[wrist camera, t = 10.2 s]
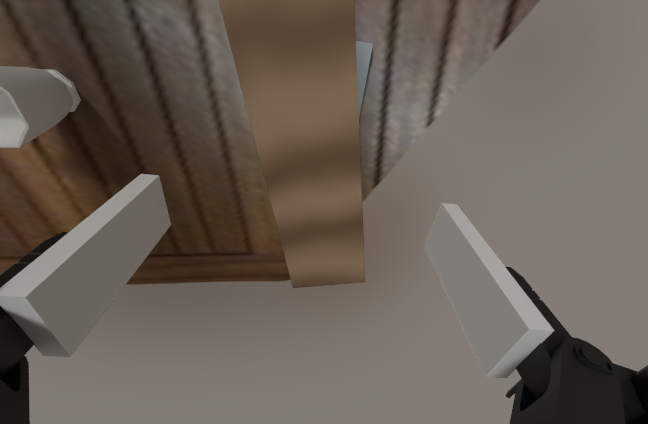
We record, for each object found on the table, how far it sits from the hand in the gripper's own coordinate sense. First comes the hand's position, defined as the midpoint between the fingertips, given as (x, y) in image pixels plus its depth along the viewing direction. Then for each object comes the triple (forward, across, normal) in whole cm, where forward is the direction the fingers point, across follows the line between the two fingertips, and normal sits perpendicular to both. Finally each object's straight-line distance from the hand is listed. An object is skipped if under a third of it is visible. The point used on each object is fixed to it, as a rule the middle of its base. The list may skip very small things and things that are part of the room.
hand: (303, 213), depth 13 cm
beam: (+12, 0, 0) cm, 13 cm away
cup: (+21, -28, -2) cm, 35 cm away
